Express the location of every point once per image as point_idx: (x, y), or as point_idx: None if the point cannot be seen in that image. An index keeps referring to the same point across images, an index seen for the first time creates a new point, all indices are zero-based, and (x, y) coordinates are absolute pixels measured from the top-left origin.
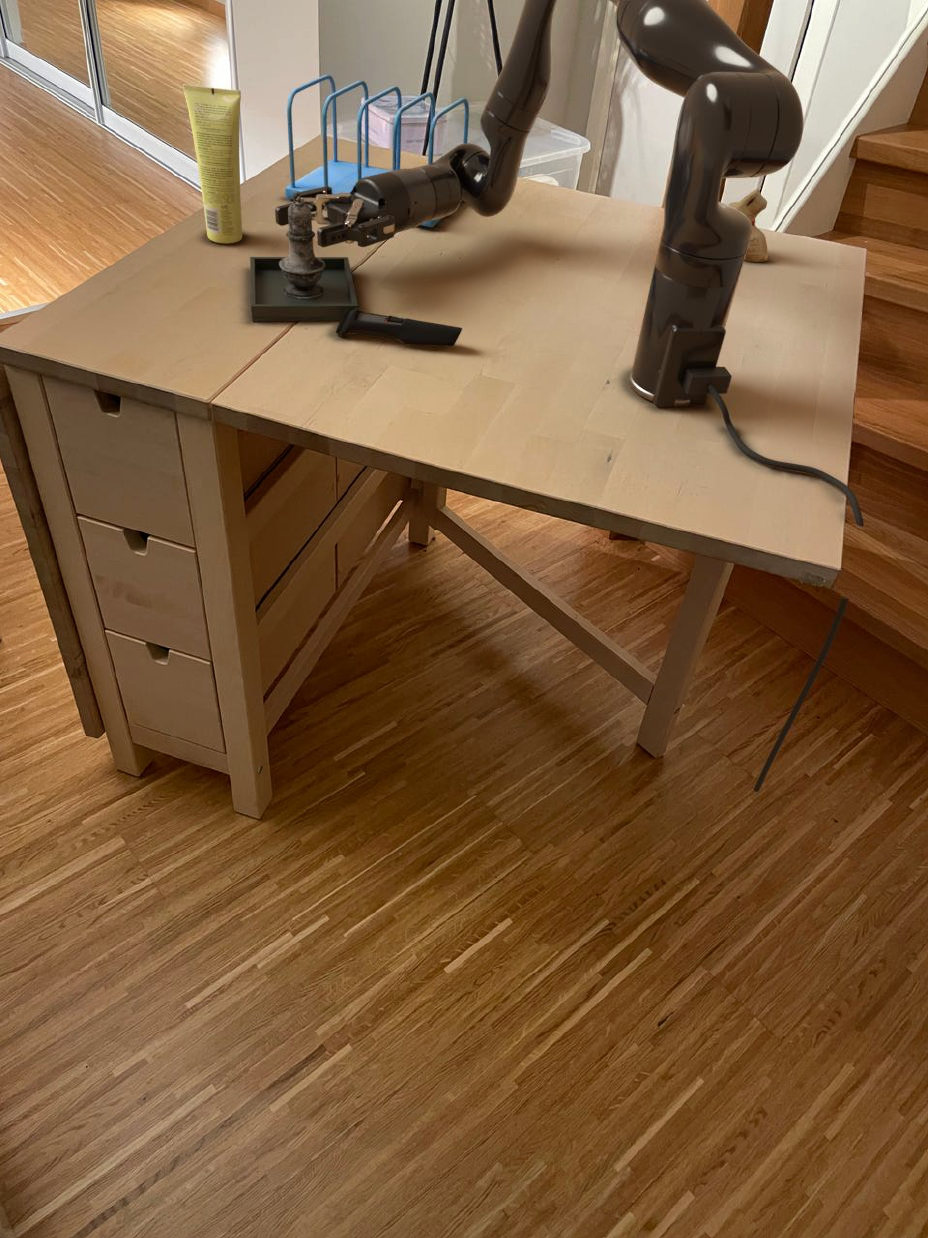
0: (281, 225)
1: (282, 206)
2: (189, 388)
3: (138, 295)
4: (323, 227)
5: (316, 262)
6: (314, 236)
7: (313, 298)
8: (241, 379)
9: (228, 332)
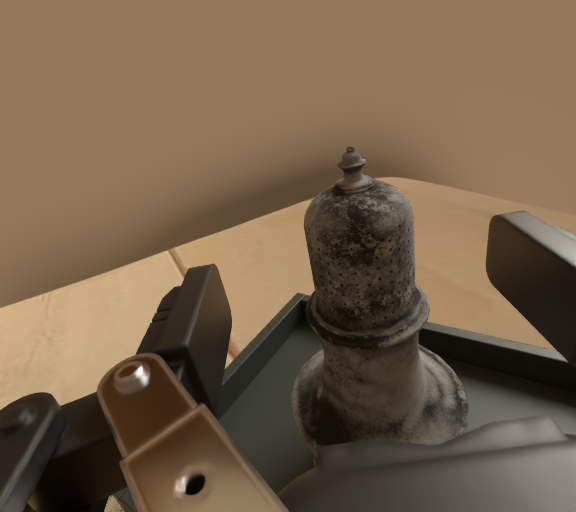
0: (490, 281)
1: (522, 220)
2: (204, 242)
3: (475, 233)
4: (201, 273)
5: (325, 414)
6: (321, 337)
7: (312, 454)
8: (174, 273)
9: (290, 286)
